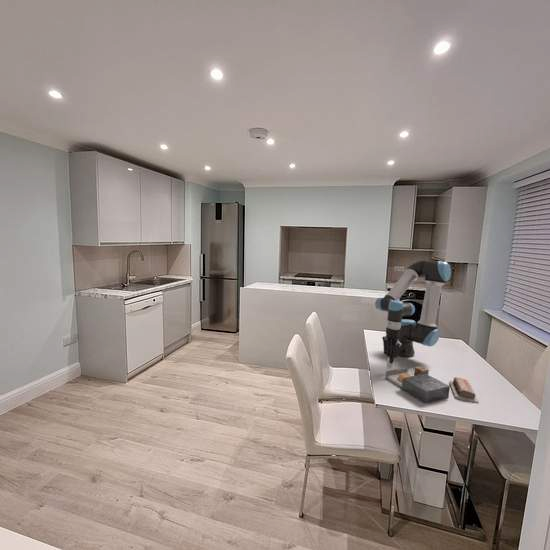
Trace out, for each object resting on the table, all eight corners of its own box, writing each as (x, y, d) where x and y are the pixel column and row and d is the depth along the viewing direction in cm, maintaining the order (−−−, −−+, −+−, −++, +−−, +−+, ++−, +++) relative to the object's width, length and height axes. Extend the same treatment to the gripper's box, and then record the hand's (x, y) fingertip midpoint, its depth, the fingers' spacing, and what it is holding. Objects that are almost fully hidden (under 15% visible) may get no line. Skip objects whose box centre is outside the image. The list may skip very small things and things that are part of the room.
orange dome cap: (395, 378, 162) (395, 375, 161) (405, 376, 165) (406, 373, 165) (406, 385, 154) (407, 382, 154) (418, 382, 158) (418, 379, 157)
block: (413, 375, 169) (414, 367, 168) (420, 374, 171) (421, 366, 170) (421, 379, 164) (422, 371, 164) (427, 378, 166) (428, 369, 166)
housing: (401, 388, 153) (402, 377, 152) (423, 384, 159) (424, 373, 158) (424, 403, 140) (426, 391, 139) (448, 397, 146) (449, 386, 146)
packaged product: (449, 375, 162) (471, 379, 158) (448, 383, 163) (469, 387, 159) (456, 389, 146) (480, 394, 142) (454, 399, 146) (478, 404, 142)
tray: (384, 378, 164) (385, 370, 163) (404, 374, 170) (405, 367, 169) (405, 390, 151) (406, 382, 150) (426, 386, 157) (427, 378, 156)
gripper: (379, 325, 172) (375, 363, 175) (397, 331, 160) (392, 373, 163) (389, 324, 175) (385, 362, 178) (407, 331, 163) (402, 371, 166)
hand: (388, 367), depth 171 cm, fingers closed
